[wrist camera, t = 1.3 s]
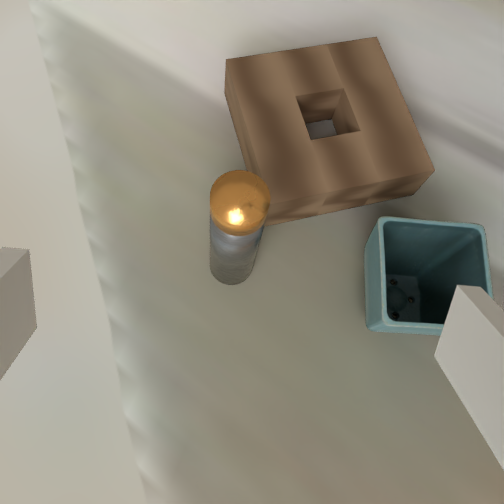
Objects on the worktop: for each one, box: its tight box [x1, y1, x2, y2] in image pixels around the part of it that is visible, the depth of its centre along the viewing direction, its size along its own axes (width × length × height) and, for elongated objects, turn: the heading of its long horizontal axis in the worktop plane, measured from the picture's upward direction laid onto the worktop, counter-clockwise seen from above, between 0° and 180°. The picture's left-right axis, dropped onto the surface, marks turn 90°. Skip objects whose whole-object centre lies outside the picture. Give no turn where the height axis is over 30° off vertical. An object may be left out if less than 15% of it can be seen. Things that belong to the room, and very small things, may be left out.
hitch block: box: [225, 37, 435, 227], centre depth 47 cm, size 16×16×5 cm
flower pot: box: [364, 216, 494, 336], centre depth 40 cm, size 9×9×9 cm
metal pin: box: [210, 170, 271, 285], centre depth 38 cm, size 4×4×14 cm
